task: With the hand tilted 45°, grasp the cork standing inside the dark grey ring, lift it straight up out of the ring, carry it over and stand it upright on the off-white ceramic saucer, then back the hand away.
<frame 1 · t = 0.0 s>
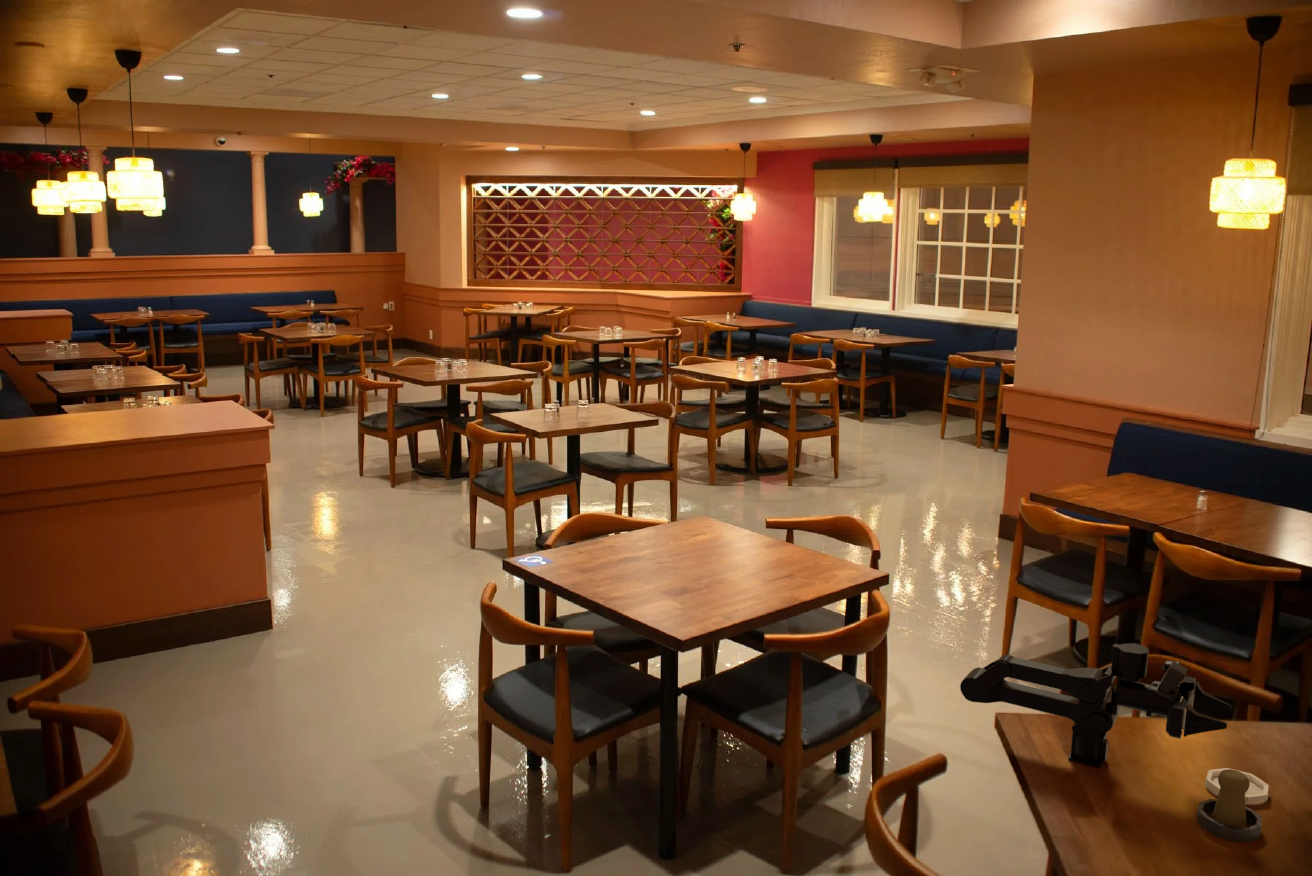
hand: (1229, 716, 208), 17 cm above the table, tool horizontal, fingers open, 9 cm apart
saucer: (1236, 790, 212), on the table
dark grey ring: (1228, 825, 199), on the table
cork: (1228, 826, 199), resting in dark grey ring
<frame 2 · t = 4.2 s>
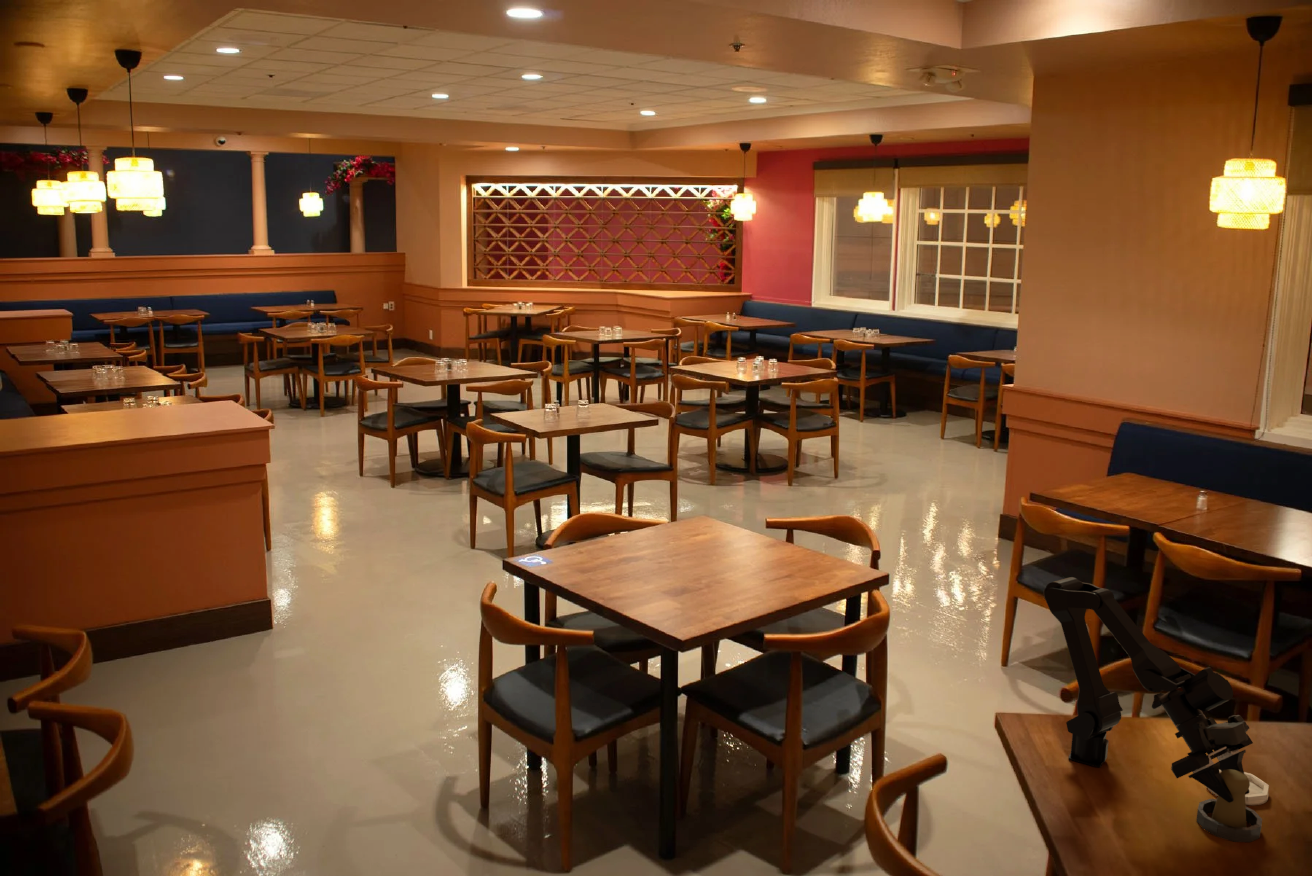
hand: (1239, 797, 197), 7 cm above the table, tool tilted 45°, fingers closed on cork, 5 cm apart
cork: (1228, 826, 199), resting in dark grey ring, touching gripper
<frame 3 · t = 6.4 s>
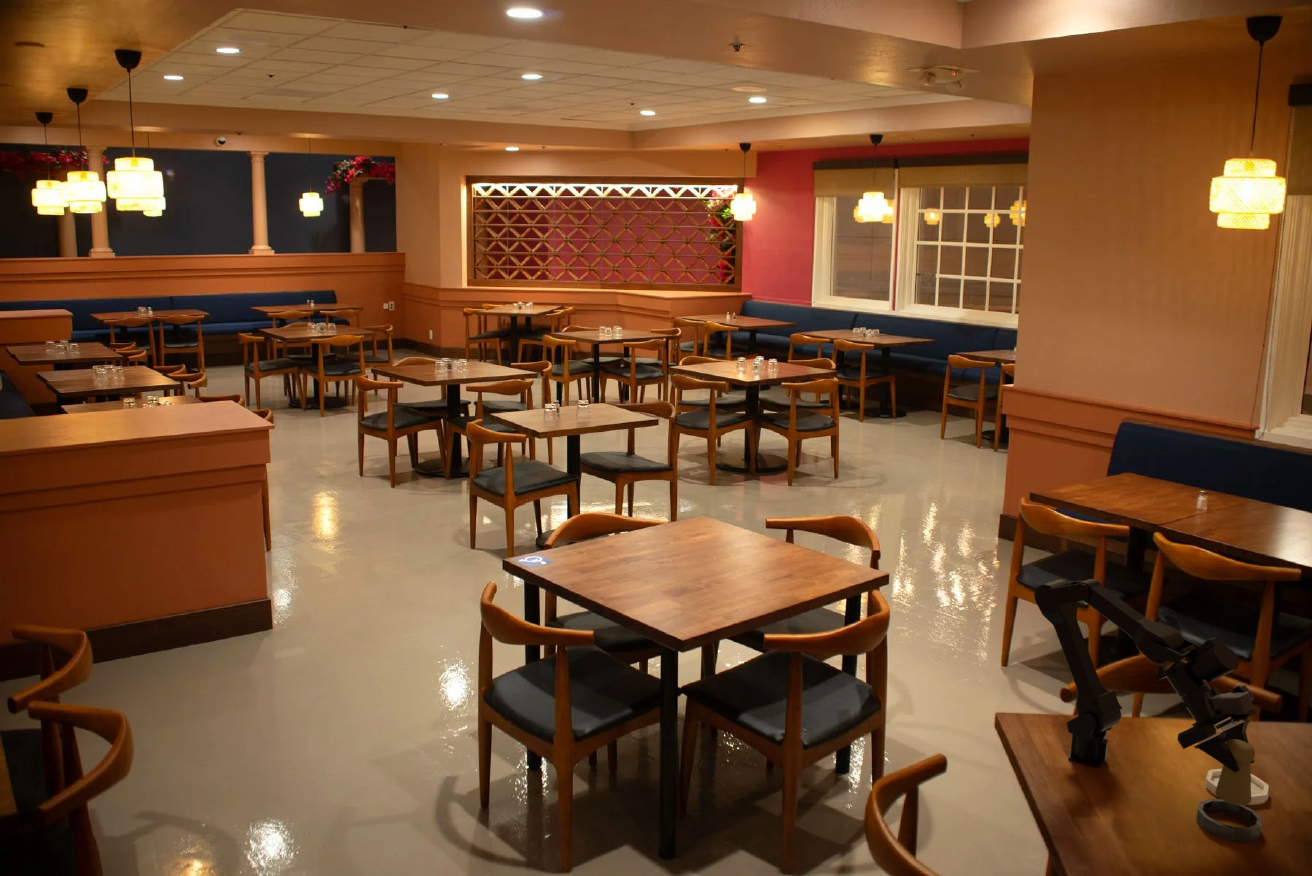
hand: (1244, 767, 197), 12 cm above the table, tool tilted 45°, fingers closed on cork, 5 cm apart
cork: (1233, 796, 199), point 5 cm above the table, touching gripper
when the fingers open (9 cm above the table, at t = 8.6 s): cork drops 1 cm, resting on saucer.
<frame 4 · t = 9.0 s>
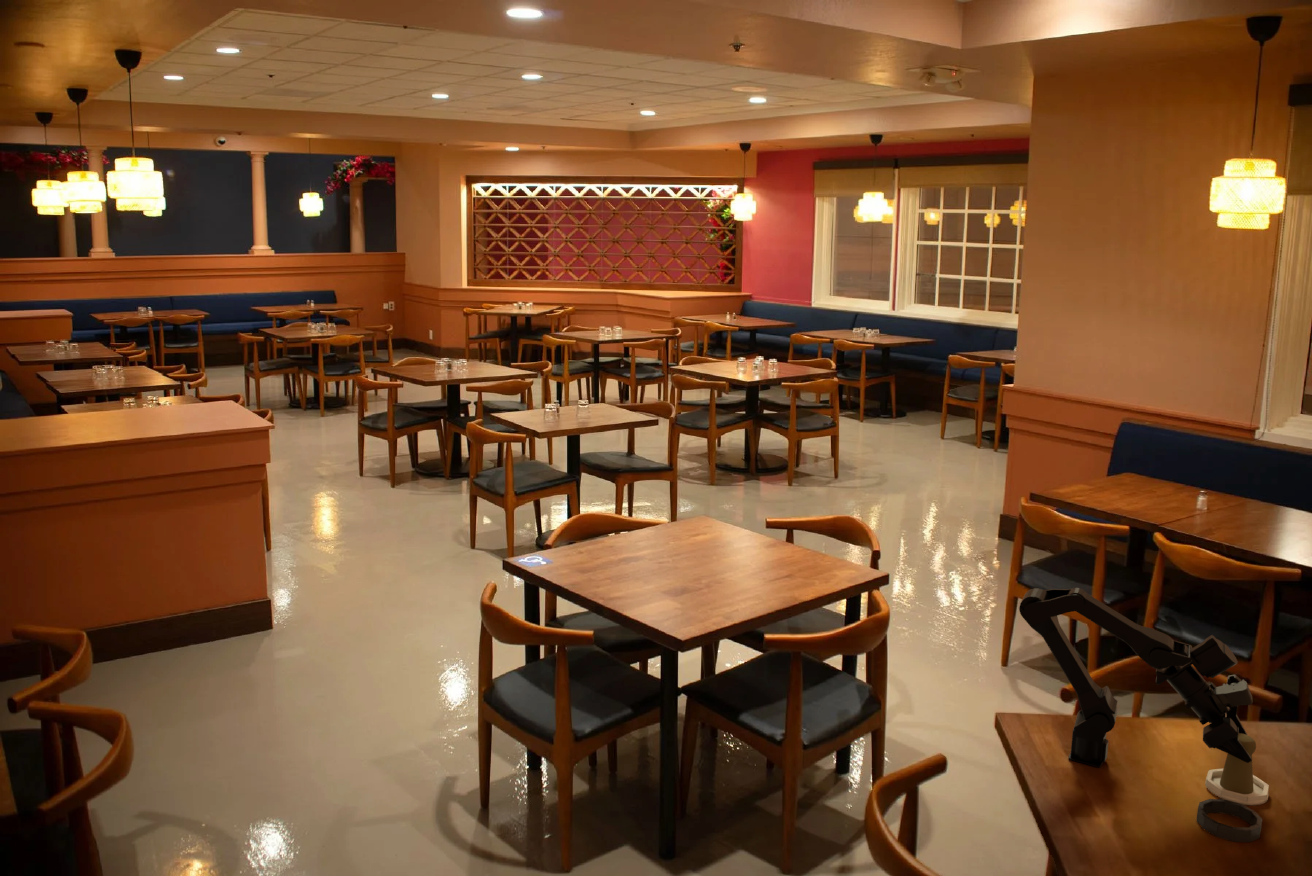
hand: (1249, 751, 210), 9 cm above the table, tool tilted 45°, fingers open, 9 cm apart
cork: (1236, 787, 212), point 1 cm above the table, touching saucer
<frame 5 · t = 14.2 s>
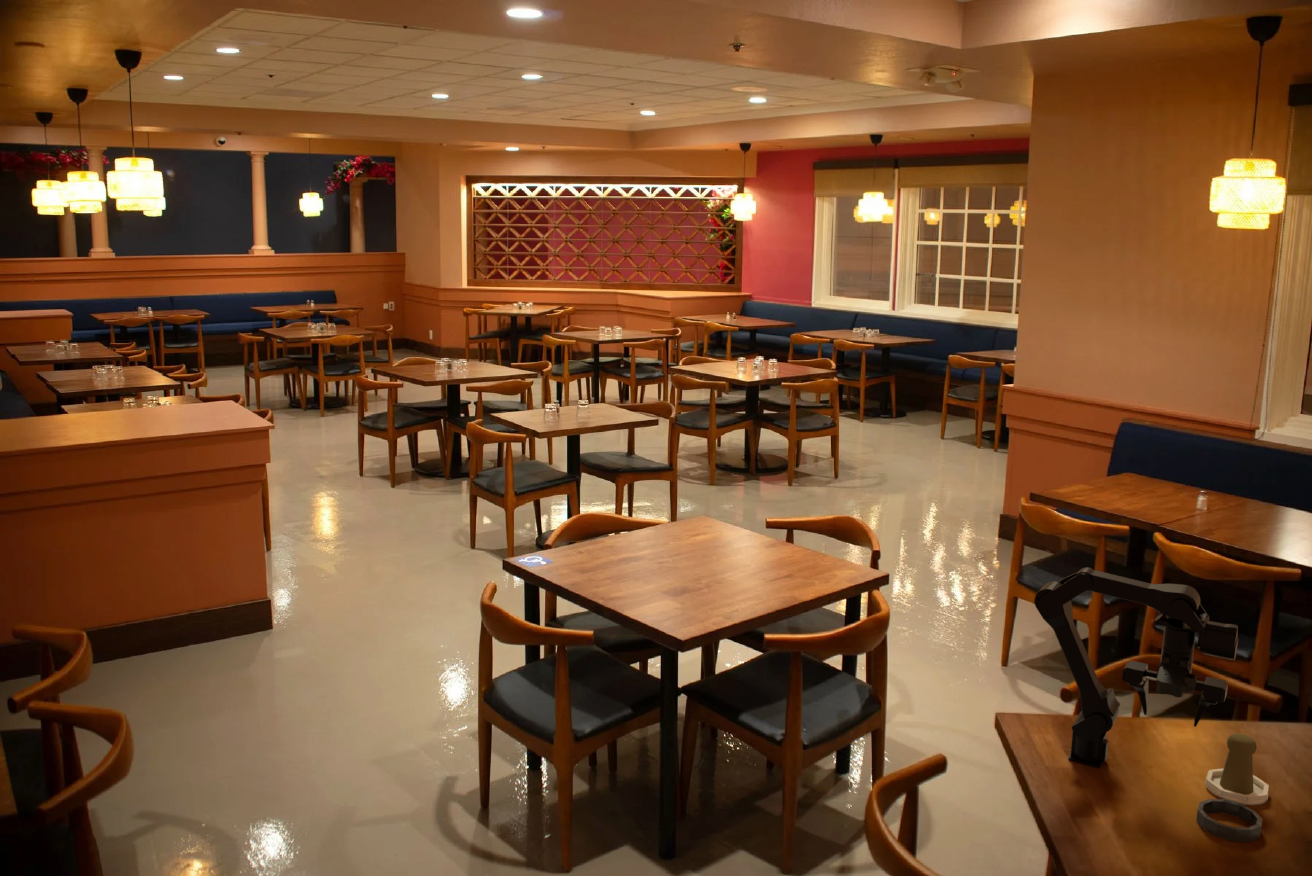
hand: (1170, 719, 214), 13 cm above the table, tool pointing down, fingers open, 9 cm apart
nothing on the table moved.
at the end: cork 0.1 cm off-centre on the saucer, point 0.6 cm above the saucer's base; cork tilted 0°; the gripper is holding nothing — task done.
